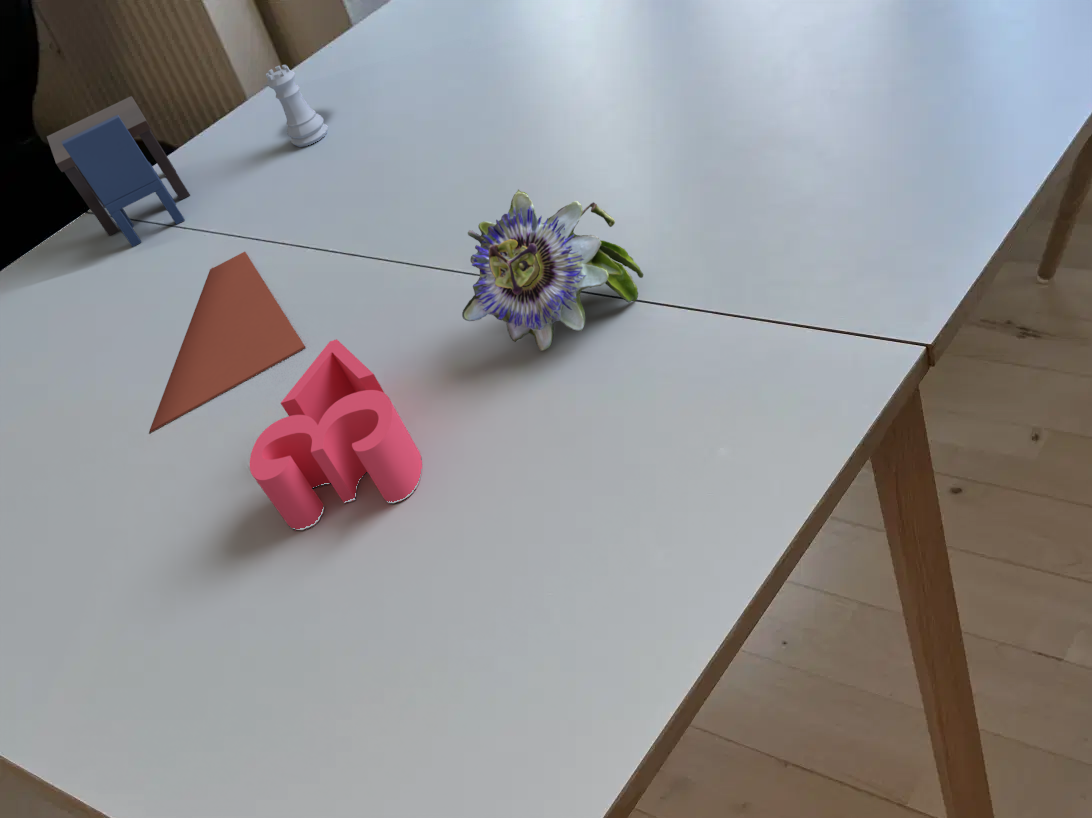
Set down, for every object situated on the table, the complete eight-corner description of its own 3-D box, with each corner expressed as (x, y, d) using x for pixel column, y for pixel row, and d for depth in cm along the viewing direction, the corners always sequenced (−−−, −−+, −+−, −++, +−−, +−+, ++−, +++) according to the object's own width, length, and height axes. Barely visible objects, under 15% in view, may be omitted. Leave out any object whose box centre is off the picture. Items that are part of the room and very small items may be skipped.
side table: (95, 207, 127) (46, 136, 120) (175, 167, 129) (131, 95, 122) (107, 237, 119) (56, 164, 113) (192, 195, 121) (146, 120, 115)
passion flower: (571, 397, 86) (438, 335, 80) (566, 298, 93) (443, 232, 86) (666, 314, 80) (529, 239, 73) (654, 214, 86) (528, 135, 79)
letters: (303, 408, 85) (272, 358, 82) (426, 371, 84) (400, 319, 81) (280, 537, 75) (243, 486, 72) (421, 496, 74) (389, 443, 71)
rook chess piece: (325, 142, 122) (290, 74, 116) (288, 152, 123) (252, 85, 117) (333, 123, 125) (300, 56, 120) (297, 133, 126) (263, 67, 120)
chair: (124, 227, 120) (55, 127, 112) (174, 202, 121) (110, 101, 113) (132, 247, 116) (62, 144, 108) (185, 220, 117) (119, 117, 109)
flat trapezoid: (112, 322, 105) (110, 320, 105) (245, 252, 108) (244, 251, 107) (150, 432, 89) (149, 431, 89) (306, 347, 92) (304, 346, 92)
